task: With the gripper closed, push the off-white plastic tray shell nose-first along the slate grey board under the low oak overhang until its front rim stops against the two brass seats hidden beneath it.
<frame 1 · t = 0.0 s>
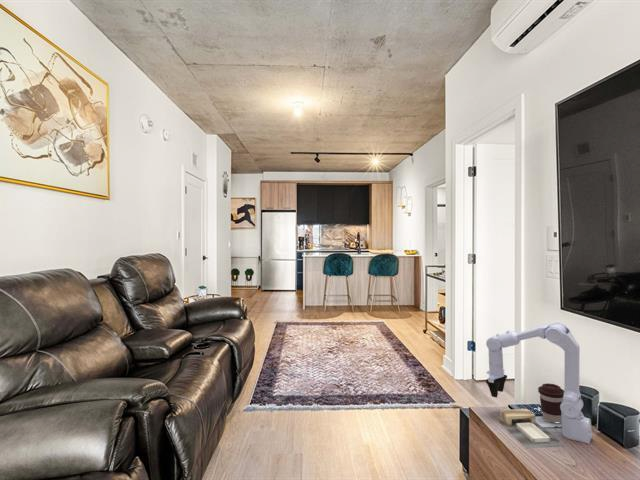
hand: (497, 393, 165), 10 cm above the table, tool pointing down, fingers open, 7 cm apart
tray shell: (532, 435, 147), point 1 cm above the table, touching overhang board
overhang board: (523, 429, 153), on the table
coffee cup: (553, 421, 159), on the table
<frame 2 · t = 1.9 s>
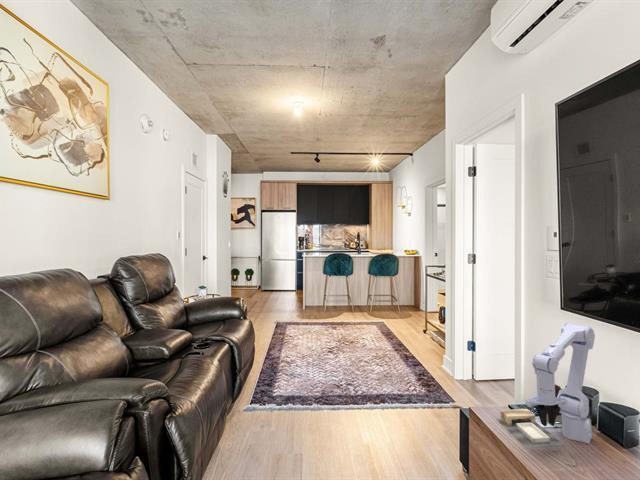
hand: (547, 424, 137), 10 cm above the table, tool pointing down, fingers closed
nothing on the table moved.
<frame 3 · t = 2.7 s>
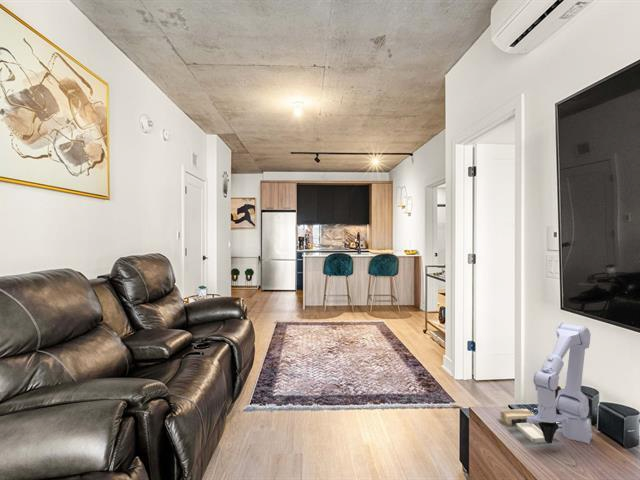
hand: (548, 441, 137), 4 cm above the table, tool pointing down, fingers closed
nothing on the table moved.
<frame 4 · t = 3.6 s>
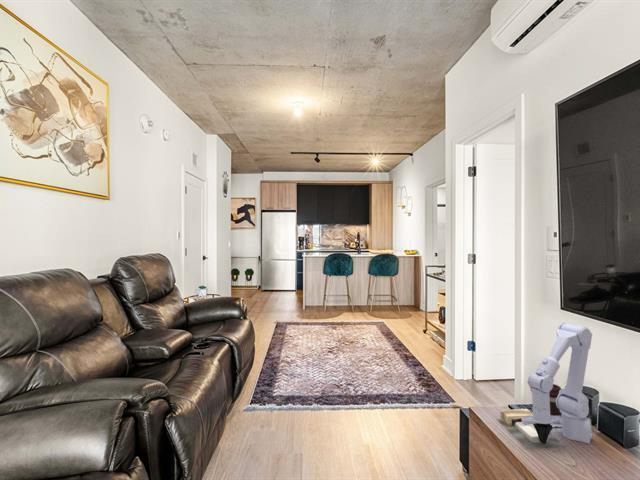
hand: (542, 442, 140), 2 cm above the table, tool pointing down, fingers closed, pressing on tray shell
tray shell: (531, 434, 147), point 1 cm above the table, touching gripper
everything else where it was.
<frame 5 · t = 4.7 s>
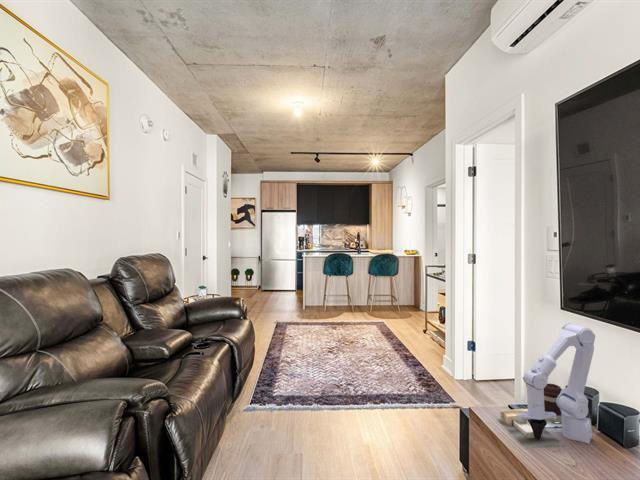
hand: (537, 437, 143), 2 cm above the table, tool pointing down, fingers closed, pressing on tray shell
tray shell: (526, 430, 151), point 1 cm above the table, touching gripper, overhang board
everything else where it was.
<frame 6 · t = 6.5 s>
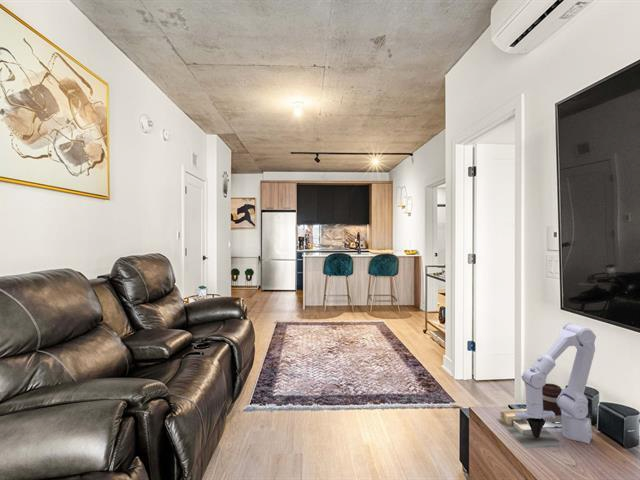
hand: (536, 436, 144), 2 cm above the table, tool pointing down, fingers closed
tray shell: (522, 427, 153), point 1 cm above the table, touching overhang board
everything else where it was.
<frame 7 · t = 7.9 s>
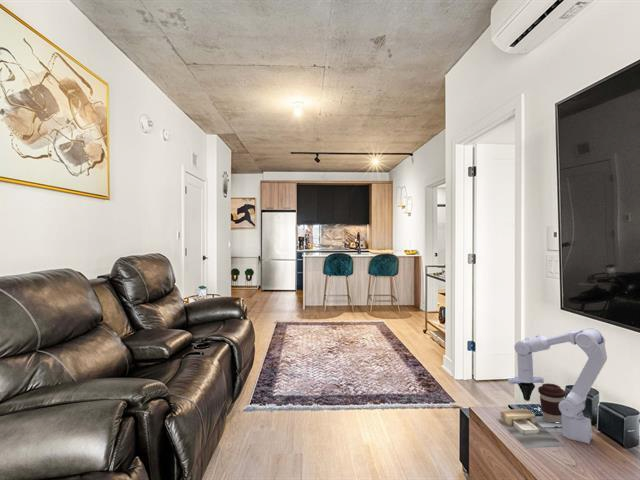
hand: (526, 399, 159), 9 cm above the table, tool pointing down, fingers closed
nothing on the table moved.
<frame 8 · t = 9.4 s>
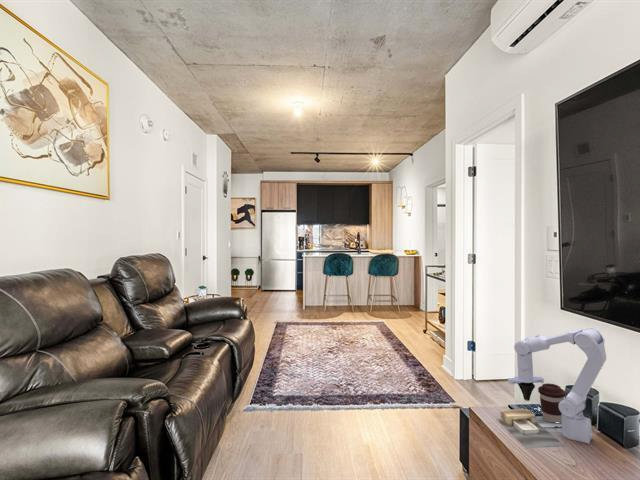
hand: (526, 399, 159), 9 cm above the table, tool pointing down, fingers closed
nothing on the table moved.
at the end: tray shell 0.2 cm from the overhang board (horizontally); tray shell tilted 0°; tray shell point 0.8 cm above the table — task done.
